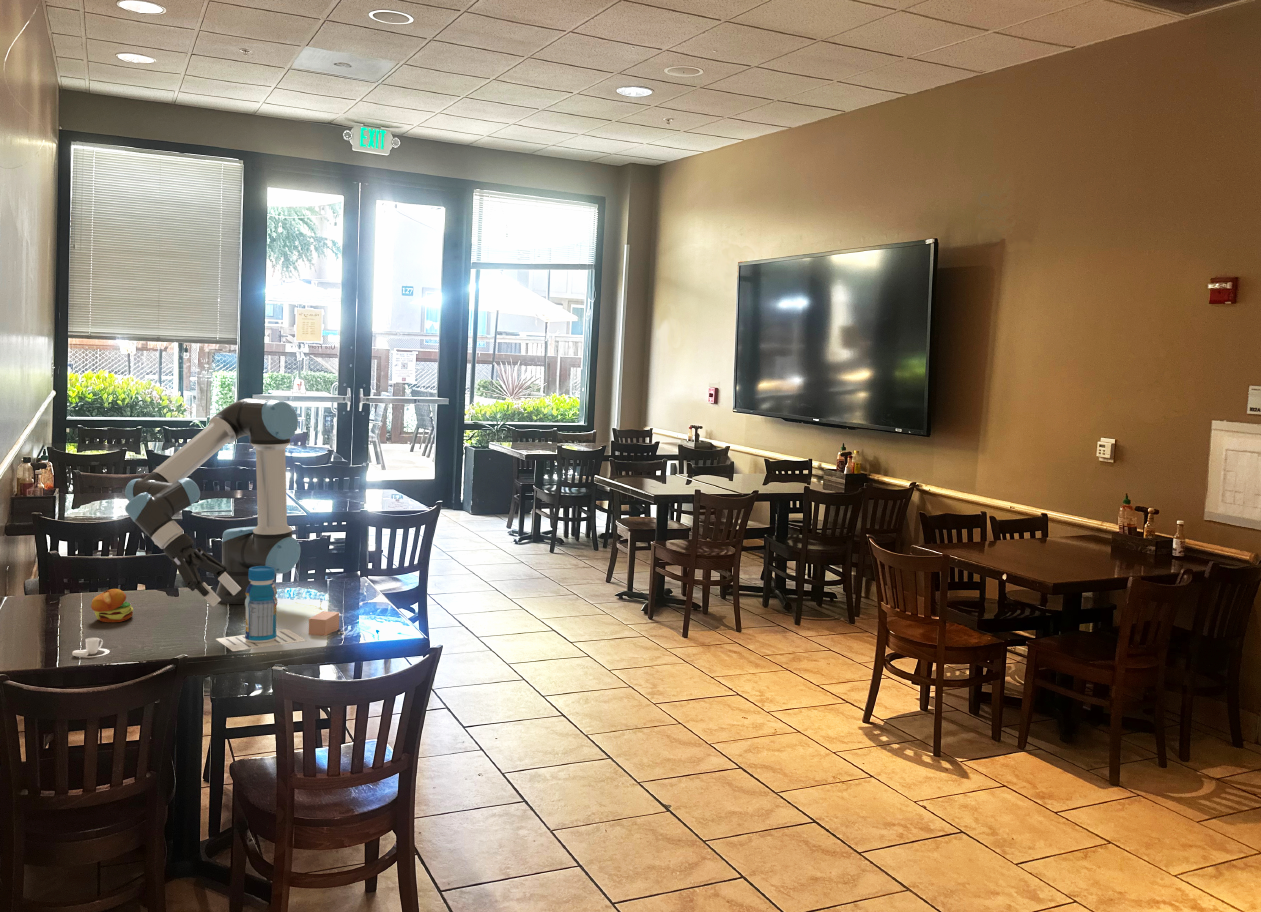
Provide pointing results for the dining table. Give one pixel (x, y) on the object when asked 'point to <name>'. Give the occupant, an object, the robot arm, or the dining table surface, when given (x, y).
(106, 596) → the cheeseburger
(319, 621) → the block
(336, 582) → the dining table surface
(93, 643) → the teacup and saucer
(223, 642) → the letter
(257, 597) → the beverage bottle
